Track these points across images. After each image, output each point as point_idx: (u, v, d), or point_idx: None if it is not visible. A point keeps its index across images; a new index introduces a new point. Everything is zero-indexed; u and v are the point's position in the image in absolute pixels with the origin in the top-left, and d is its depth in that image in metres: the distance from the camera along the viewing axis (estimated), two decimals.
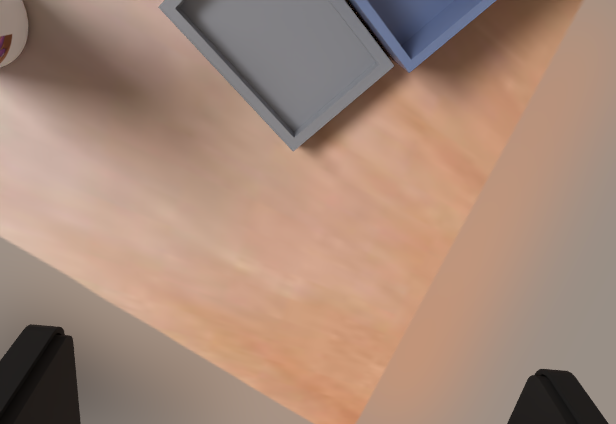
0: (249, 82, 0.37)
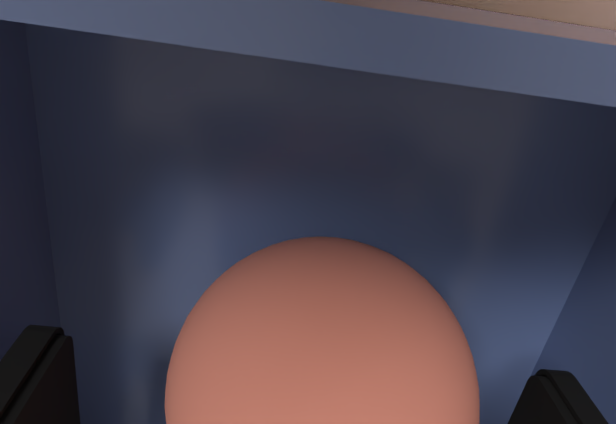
0: None
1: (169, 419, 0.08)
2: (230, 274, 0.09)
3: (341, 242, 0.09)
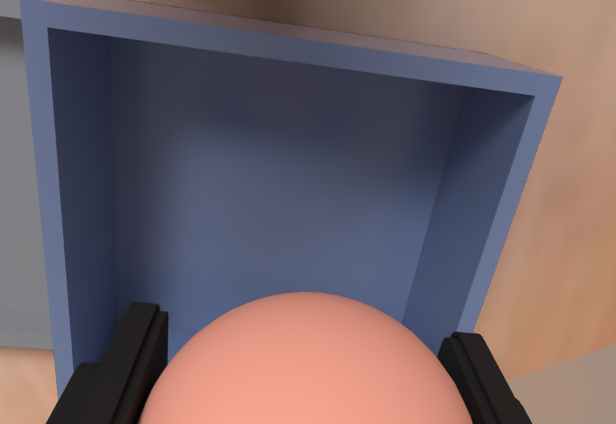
0: None
1: None
2: (200, 343, 0.08)
3: (327, 304, 0.08)
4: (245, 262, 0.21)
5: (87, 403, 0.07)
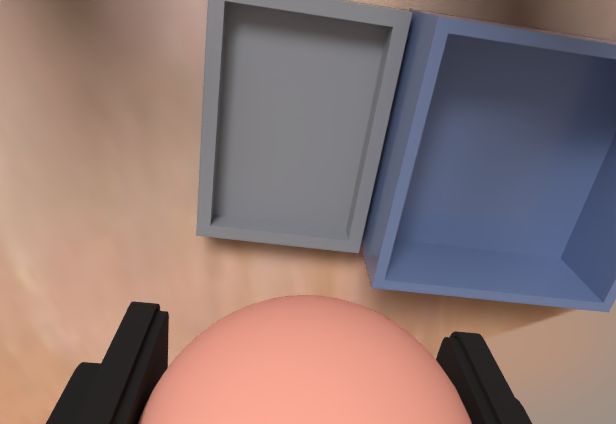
0: (220, 134, 0.28)
1: None
2: (200, 347, 0.08)
3: (327, 308, 0.08)
4: (469, 193, 0.30)
5: (87, 403, 0.07)
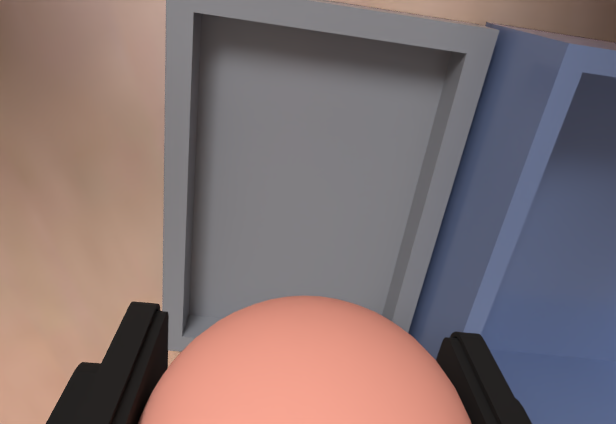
0: (195, 207, 0.19)
1: None
2: (199, 347, 0.08)
3: (327, 308, 0.08)
4: (556, 285, 0.21)
5: (87, 403, 0.07)
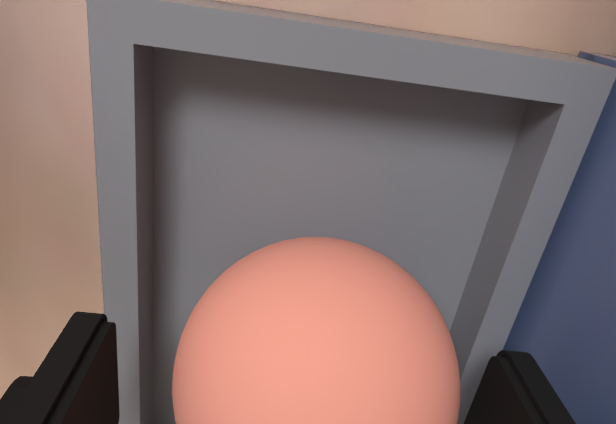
0: (156, 308, 0.13)
1: (177, 403, 0.09)
2: (232, 271, 0.10)
3: (334, 242, 0.10)
4: None
5: None
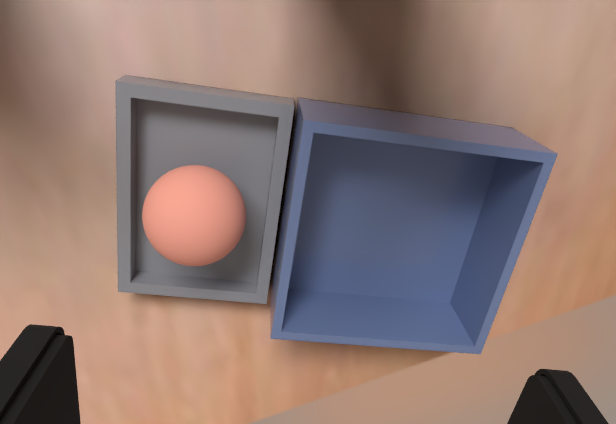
0: (137, 203, 0.31)
1: (143, 215, 0.27)
2: None
3: (200, 165, 0.28)
4: (363, 249, 0.34)
5: None
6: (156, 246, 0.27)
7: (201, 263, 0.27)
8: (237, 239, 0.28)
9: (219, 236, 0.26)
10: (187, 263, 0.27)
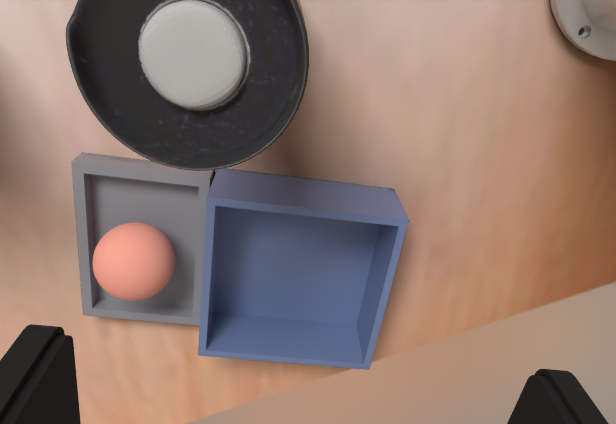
0: None
1: None
2: None
3: (137, 223, 0.36)
4: (279, 282, 0.42)
5: None
6: (101, 286, 0.35)
7: (136, 299, 0.36)
8: (165, 281, 0.36)
9: (147, 280, 0.35)
10: (125, 299, 0.36)
